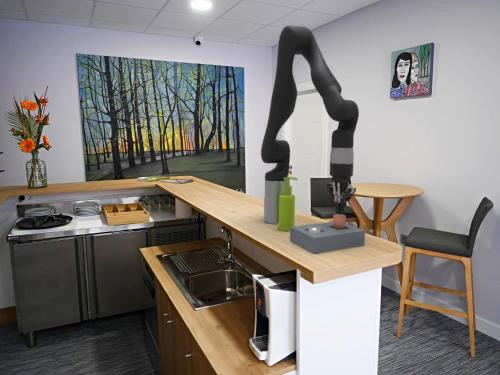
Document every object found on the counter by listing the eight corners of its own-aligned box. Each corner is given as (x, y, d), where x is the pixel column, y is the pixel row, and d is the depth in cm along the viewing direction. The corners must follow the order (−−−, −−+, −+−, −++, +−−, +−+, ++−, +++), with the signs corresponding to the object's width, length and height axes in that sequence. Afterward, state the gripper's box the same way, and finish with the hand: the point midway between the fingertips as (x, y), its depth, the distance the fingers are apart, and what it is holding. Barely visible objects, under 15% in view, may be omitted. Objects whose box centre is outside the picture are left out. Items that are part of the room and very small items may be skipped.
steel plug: (305, 241, 123) (306, 227, 122) (315, 240, 125) (316, 225, 124) (312, 245, 120) (313, 230, 119) (322, 243, 121) (323, 228, 120)
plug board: (289, 241, 126) (290, 227, 126) (337, 234, 135) (337, 221, 134) (313, 253, 114) (314, 237, 113) (364, 245, 122) (365, 230, 122)
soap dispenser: (296, 232, 137) (297, 178, 134) (277, 231, 139) (278, 178, 136) (297, 228, 143) (298, 176, 140) (279, 227, 144) (280, 176, 141)
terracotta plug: (330, 229, 127) (331, 214, 126) (339, 227, 129) (340, 213, 128) (338, 232, 123) (338, 217, 122) (347, 230, 125) (348, 216, 124)
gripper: (320, 160, 127) (318, 210, 129) (345, 163, 115) (343, 218, 117) (338, 160, 130) (336, 208, 132) (364, 162, 118) (362, 216, 120)
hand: (339, 213), depth 125 cm, fingers closed
